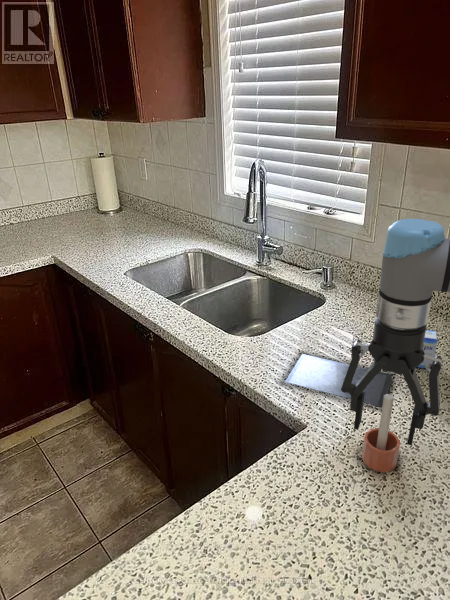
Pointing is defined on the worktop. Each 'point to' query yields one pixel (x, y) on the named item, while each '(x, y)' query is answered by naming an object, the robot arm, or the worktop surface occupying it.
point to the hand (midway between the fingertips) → (383, 431)
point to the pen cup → (380, 451)
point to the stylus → (384, 421)
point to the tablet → (336, 378)
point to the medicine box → (429, 345)
